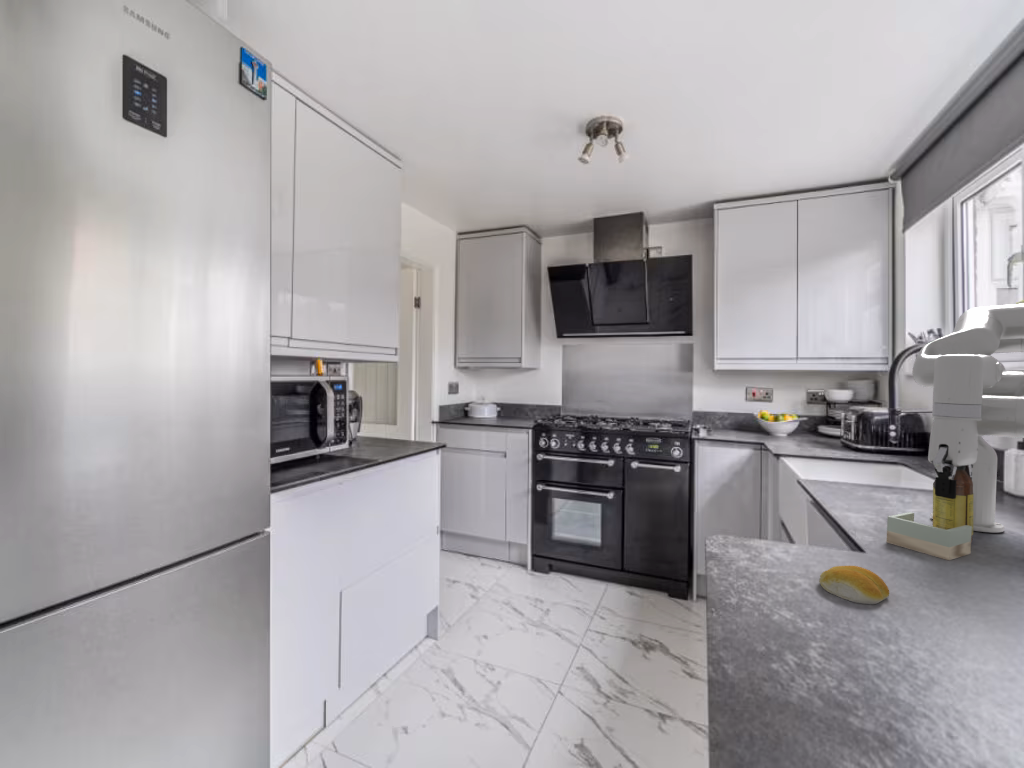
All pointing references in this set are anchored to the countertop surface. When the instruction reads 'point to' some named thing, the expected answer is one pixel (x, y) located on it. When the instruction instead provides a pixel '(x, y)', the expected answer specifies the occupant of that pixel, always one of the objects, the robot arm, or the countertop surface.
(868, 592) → the bread roll
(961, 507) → the sauce bottle
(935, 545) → the tray
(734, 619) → the countertop surface
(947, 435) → the robot arm
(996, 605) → the countertop surface
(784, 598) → the countertop surface
